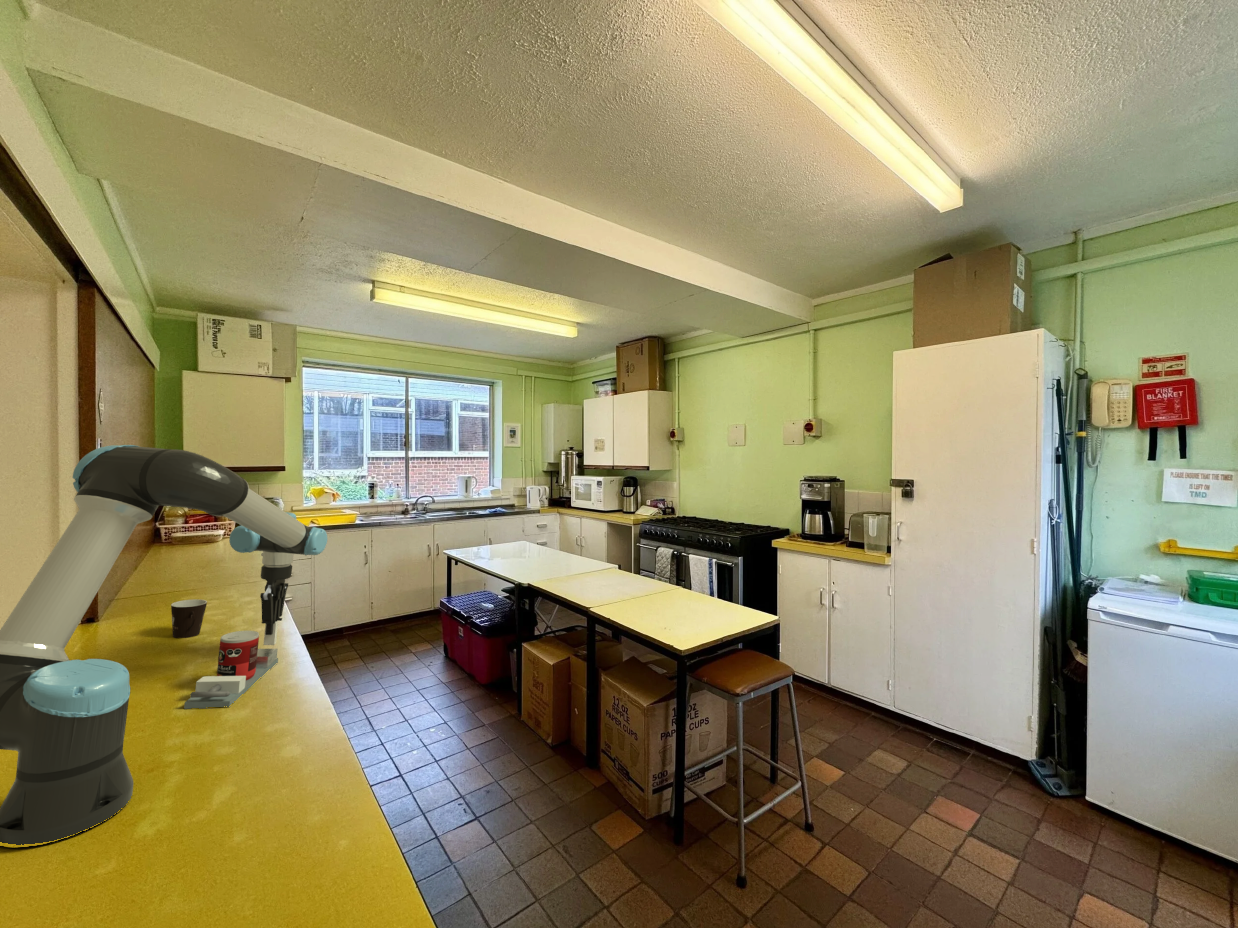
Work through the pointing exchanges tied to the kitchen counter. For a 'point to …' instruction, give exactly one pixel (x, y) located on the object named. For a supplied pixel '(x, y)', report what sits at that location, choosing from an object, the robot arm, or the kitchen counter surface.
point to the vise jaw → (266, 657)
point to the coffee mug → (187, 617)
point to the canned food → (238, 654)
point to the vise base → (226, 699)
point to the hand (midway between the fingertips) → (269, 644)
